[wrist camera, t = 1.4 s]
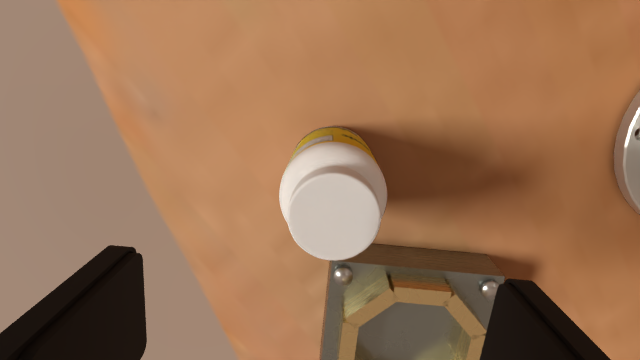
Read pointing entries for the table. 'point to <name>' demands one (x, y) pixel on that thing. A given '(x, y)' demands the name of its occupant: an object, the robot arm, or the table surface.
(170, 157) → the table surface
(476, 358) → the octagonal bottle holder
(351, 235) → the supplement bottle
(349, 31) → the table surface
